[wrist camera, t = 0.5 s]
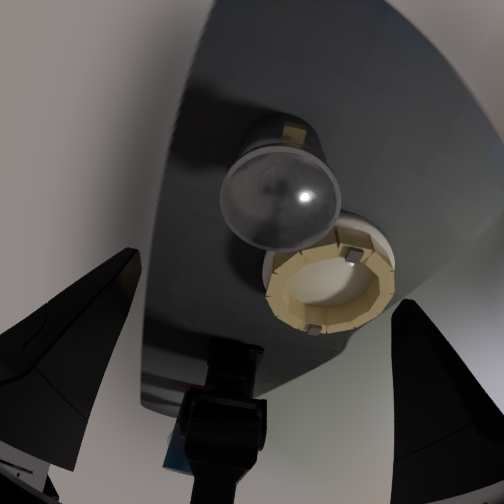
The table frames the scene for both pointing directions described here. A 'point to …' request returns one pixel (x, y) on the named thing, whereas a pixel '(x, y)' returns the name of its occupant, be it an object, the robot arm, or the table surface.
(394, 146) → the table surface
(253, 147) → the bayonet cap
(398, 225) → the table surface
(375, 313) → the ring
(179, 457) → the cup
